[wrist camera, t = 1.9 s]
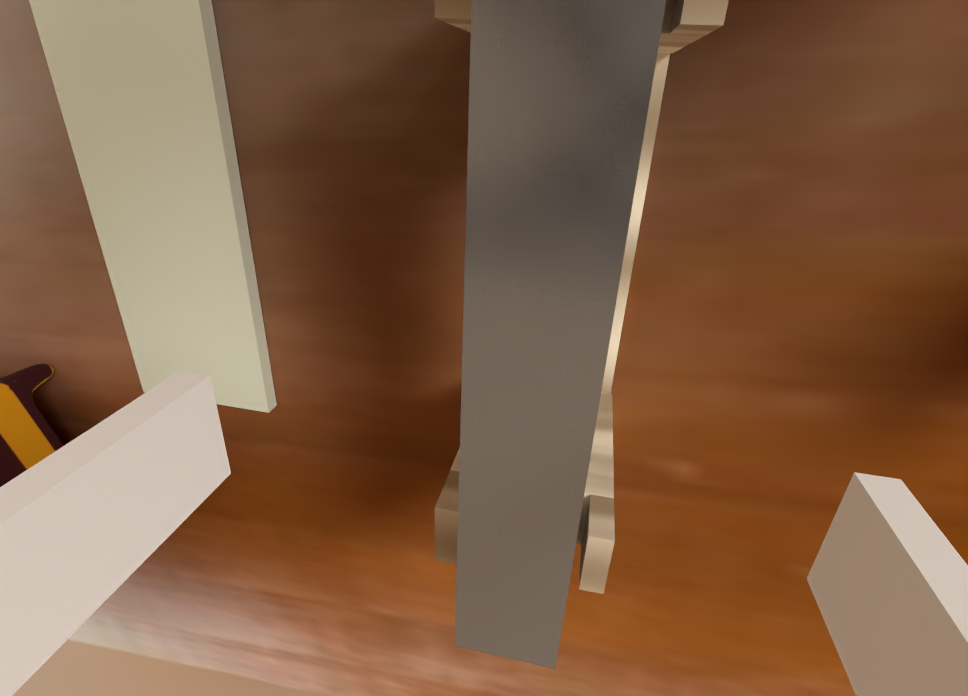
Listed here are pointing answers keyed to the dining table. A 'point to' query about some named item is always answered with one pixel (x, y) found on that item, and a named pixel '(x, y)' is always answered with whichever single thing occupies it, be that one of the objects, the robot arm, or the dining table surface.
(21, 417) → the decorative lantern
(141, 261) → the mat
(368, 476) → the dining table surface
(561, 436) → the rail
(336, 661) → the dining table surface
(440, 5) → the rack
